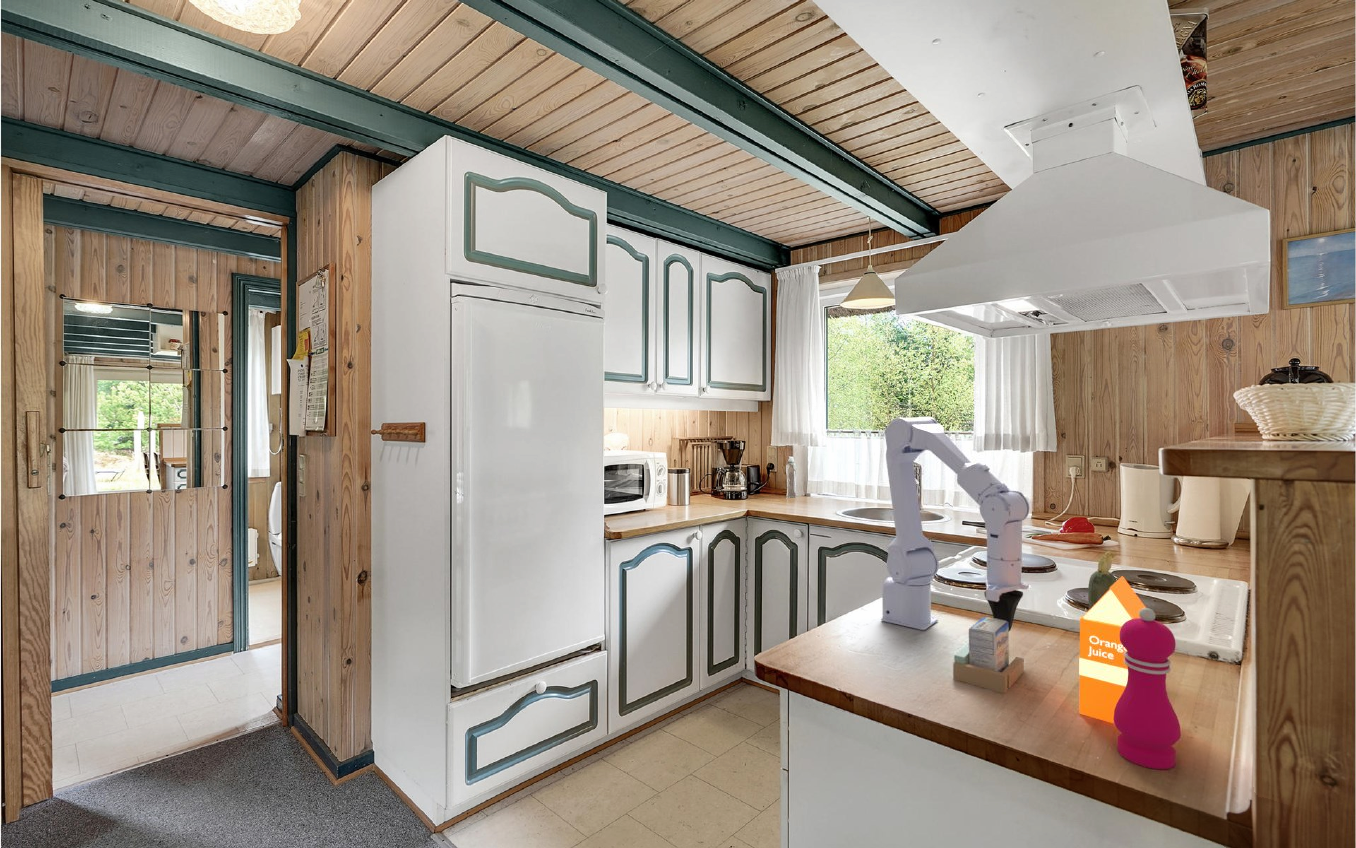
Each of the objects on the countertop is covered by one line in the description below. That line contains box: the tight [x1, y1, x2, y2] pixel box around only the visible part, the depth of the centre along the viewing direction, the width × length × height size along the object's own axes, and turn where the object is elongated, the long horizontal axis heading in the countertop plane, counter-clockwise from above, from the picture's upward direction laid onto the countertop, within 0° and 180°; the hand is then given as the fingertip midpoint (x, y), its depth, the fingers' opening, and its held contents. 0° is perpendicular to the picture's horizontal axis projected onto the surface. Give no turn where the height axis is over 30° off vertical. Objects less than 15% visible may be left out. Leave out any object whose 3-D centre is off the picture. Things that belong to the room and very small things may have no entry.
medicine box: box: [968, 616, 1010, 672], centre depth 112 cm, size 8×4×9 cm, turn 138°
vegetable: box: [1088, 549, 1118, 611], centre depth 117 cm, size 4×4×20 cm
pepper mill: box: [1113, 607, 1182, 770], centre depth 85 cm, size 7×7×20 cm
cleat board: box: [952, 642, 1025, 694], centre depth 114 cm, size 8×21×4 cm, turn 138°
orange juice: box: [1078, 575, 1147, 724], centre depth 97 cm, size 8×9×20 cm
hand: (1003, 630), depth 118 cm, fingers closed
